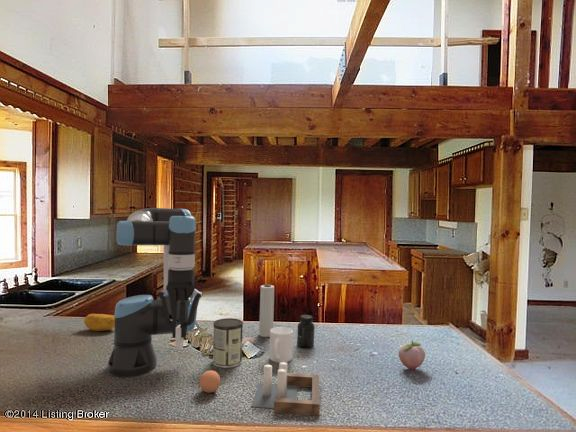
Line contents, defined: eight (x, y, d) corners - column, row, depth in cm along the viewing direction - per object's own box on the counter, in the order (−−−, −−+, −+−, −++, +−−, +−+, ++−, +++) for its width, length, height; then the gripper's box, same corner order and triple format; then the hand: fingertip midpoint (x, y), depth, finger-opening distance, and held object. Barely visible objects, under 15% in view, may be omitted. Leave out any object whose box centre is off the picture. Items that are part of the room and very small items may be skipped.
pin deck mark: (251, 407, 102) (251, 406, 102) (258, 383, 116) (258, 383, 116) (294, 410, 101) (294, 409, 101) (297, 386, 115) (297, 385, 115)
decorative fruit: (406, 362, 137) (407, 335, 136) (427, 369, 131) (428, 341, 131) (392, 369, 130) (393, 340, 130) (415, 377, 124) (416, 347, 124)
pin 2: (276, 402, 105) (277, 372, 105) (277, 398, 107) (278, 368, 107) (284, 403, 105) (285, 372, 105) (285, 398, 107) (286, 369, 107)
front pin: (262, 397, 108) (263, 367, 108) (263, 393, 110) (264, 364, 110) (270, 397, 108) (271, 368, 108) (271, 393, 110) (272, 364, 110)
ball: (196, 395, 107) (196, 375, 107) (202, 386, 113) (203, 366, 113) (217, 397, 107) (217, 376, 107) (222, 387, 113) (222, 367, 113)
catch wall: (273, 412, 100) (274, 401, 100) (280, 382, 118) (280, 372, 118) (319, 415, 99) (319, 404, 99) (318, 384, 117) (318, 374, 117)
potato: (112, 334, 157) (113, 317, 157) (80, 332, 159) (80, 315, 159) (121, 329, 164) (122, 313, 164) (90, 327, 166) (91, 311, 166)
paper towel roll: (267, 338, 158) (269, 287, 157) (256, 335, 161) (257, 285, 161) (277, 334, 164) (278, 285, 163) (265, 331, 167) (267, 283, 167)
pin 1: (278, 394, 110) (279, 365, 110) (278, 390, 112) (279, 361, 112) (286, 394, 110) (287, 365, 110) (286, 390, 112) (287, 362, 112)
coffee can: (223, 354, 139) (224, 316, 139) (247, 359, 135) (248, 320, 134) (206, 364, 130) (207, 323, 129) (231, 370, 125) (232, 328, 125)
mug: (285, 368, 128) (286, 338, 128) (262, 365, 130) (263, 335, 130) (294, 356, 139) (295, 328, 139) (273, 353, 142) (274, 325, 142)
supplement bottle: (294, 347, 148) (295, 317, 148) (300, 342, 155) (301, 313, 154) (310, 350, 146) (311, 319, 145) (316, 344, 152) (317, 315, 152)
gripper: (154, 269, 107) (152, 351, 107) (199, 271, 106) (196, 354, 106) (164, 265, 115) (162, 342, 115) (206, 267, 114) (204, 345, 114)
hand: (179, 348), depth 110 cm, fingers closed
